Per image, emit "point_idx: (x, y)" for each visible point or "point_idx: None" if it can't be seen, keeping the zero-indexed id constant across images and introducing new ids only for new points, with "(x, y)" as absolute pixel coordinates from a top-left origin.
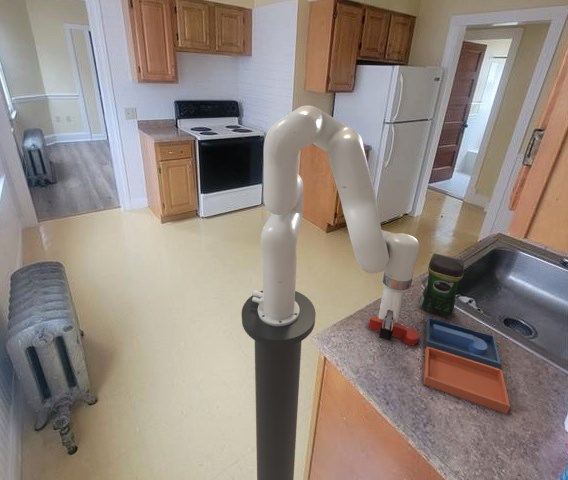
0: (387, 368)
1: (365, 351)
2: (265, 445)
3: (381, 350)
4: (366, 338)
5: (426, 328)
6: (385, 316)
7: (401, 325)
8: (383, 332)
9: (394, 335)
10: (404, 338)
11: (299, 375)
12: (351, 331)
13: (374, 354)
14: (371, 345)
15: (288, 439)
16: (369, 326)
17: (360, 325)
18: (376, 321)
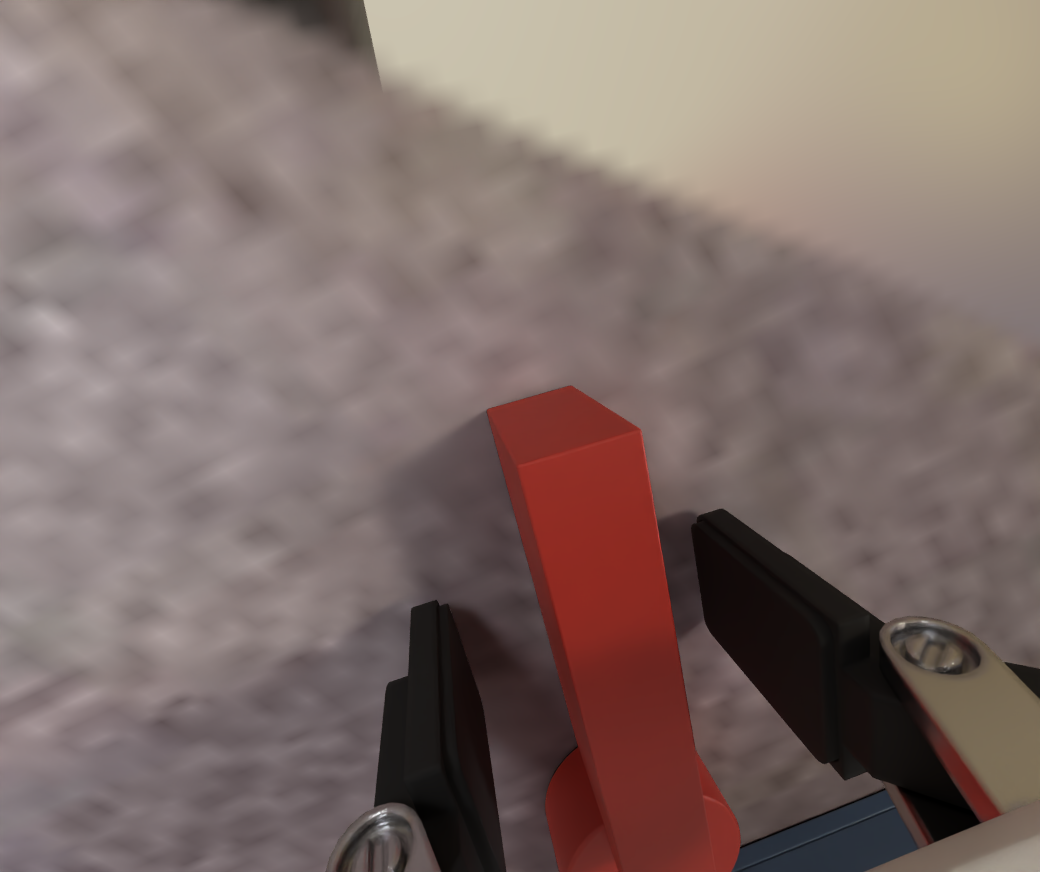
0: (48, 851)
1: (42, 577)
2: None
3: (246, 696)
4: (283, 476)
5: (823, 863)
6: (764, 600)
7: (688, 854)
8: (379, 765)
9: (566, 698)
10: (564, 820)
11: (265, 2)
12: (227, 222)
13: (107, 675)
14: (219, 581)
15: None
16: (495, 429)
17: (462, 287)
18: (546, 579)
